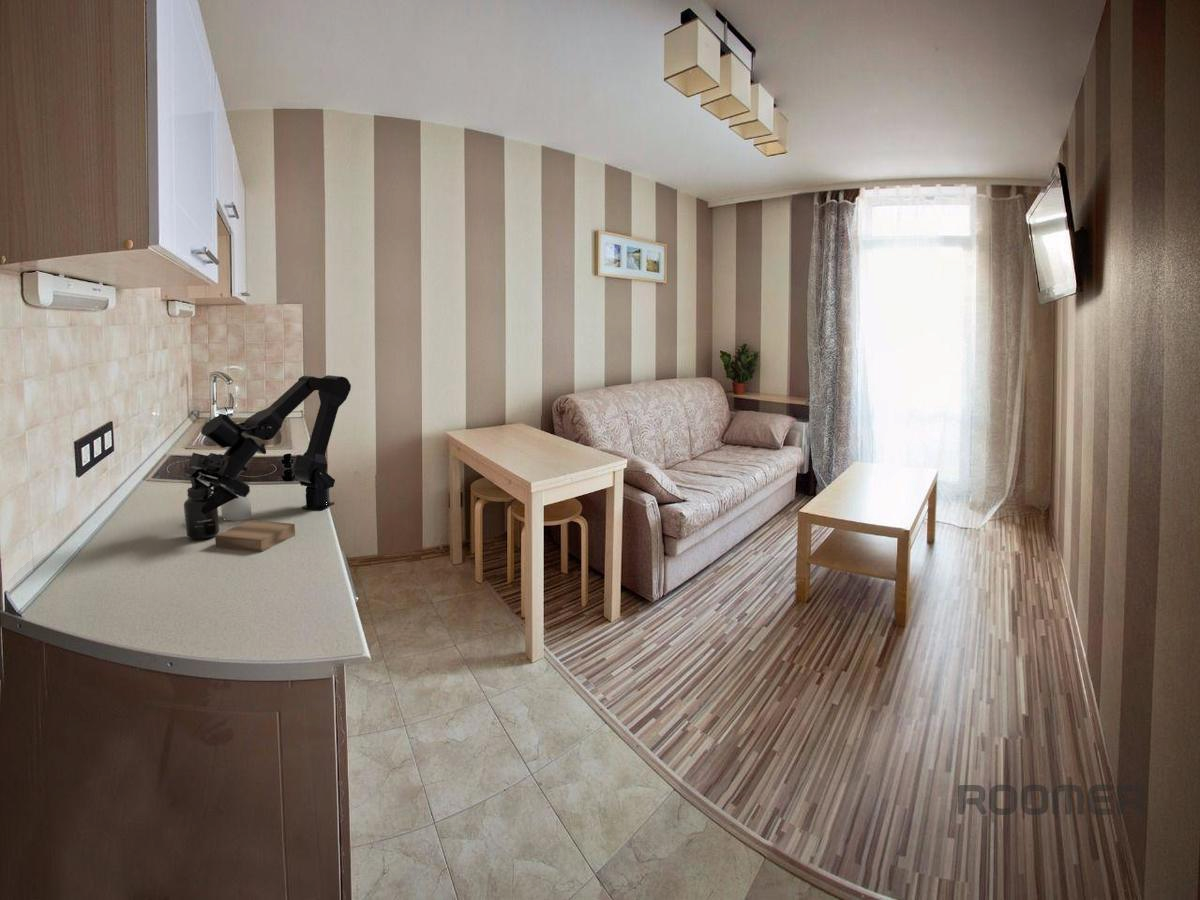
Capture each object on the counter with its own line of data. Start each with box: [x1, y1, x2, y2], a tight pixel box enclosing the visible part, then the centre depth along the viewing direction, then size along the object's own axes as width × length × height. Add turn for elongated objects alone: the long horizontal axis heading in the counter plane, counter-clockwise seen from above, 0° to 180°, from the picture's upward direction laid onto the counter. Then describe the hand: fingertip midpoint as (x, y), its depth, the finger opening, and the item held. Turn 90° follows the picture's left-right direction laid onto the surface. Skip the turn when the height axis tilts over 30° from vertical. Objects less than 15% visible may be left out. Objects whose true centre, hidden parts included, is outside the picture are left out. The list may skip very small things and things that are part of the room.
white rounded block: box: [220, 491, 253, 521], centre depth 162 cm, size 7×7×8 cm
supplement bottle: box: [183, 486, 220, 540], centre depth 145 cm, size 7×7×12 cm
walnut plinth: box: [214, 519, 296, 553], centre depth 145 cm, size 12×12×3 cm
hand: (194, 510), depth 144 cm, fingers closed on supplement bottle, 7 cm apart
